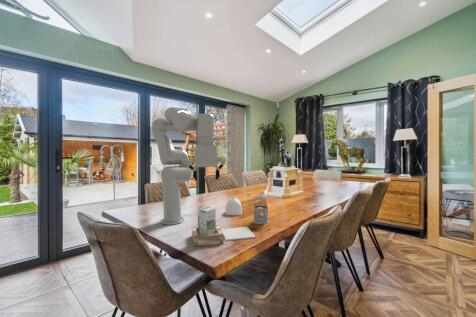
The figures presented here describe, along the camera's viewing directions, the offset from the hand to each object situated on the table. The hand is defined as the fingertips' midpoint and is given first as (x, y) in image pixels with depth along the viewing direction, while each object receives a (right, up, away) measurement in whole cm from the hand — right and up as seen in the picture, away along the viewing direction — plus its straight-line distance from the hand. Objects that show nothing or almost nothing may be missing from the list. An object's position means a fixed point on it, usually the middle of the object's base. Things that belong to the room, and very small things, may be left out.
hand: (206, 179), depth 106 cm
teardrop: (+12, -26, +45) cm, 54 cm away
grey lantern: (+26, -26, +28) cm, 46 cm away
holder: (0, -28, +1) cm, 28 cm away
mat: (+14, -27, +8) cm, 31 cm away
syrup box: (0, -28, +1) cm, 28 cm away
